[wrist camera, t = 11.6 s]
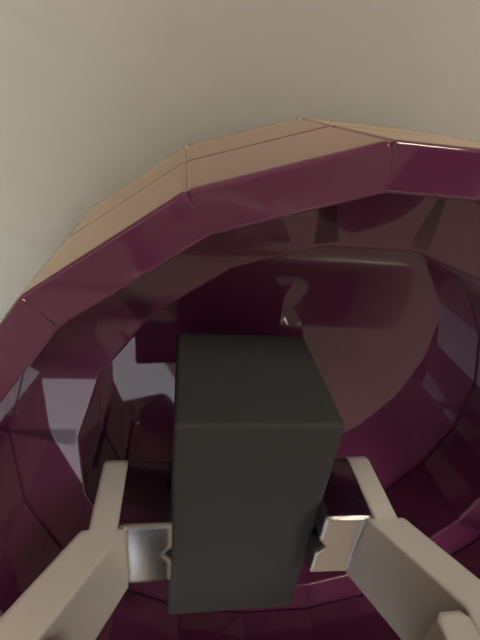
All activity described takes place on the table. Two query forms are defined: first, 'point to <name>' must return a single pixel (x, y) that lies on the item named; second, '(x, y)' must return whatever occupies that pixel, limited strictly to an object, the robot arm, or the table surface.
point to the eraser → (246, 468)
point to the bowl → (255, 319)
